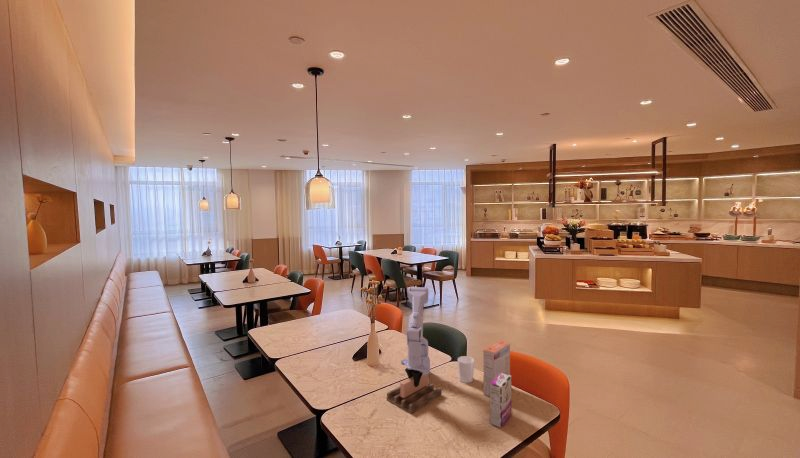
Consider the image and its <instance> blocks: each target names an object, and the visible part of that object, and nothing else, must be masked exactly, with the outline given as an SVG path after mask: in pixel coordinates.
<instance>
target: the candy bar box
mask: <svg viewBox="0 0 800 458" xmlns="http://www.w3.org/2000/svg"><path fill="white" fill-rule="evenodd" d="M511 416H512V375H511V374H510V375H507V374H504V373H500V374H499V375H498V376H497V377H496V378H495V379H494V380H493V381H492V382H491V383H490V397H489V424H490V425H491V426H495V427H497V428H500V429H502V428H503V427H504V426H505V424H506V423H507V421H508V419H509V418H510V417H511Z"/></svg>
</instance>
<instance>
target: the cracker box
mask: <svg viewBox="0 0 800 458" xmlns="http://www.w3.org/2000/svg"><path fill="white" fill-rule="evenodd" d="M482 352H483V356H482V358H483V395H484V396H487V397H489V398H490V383H491V382H492V381H493V380H494V379H495V378H496V377H497V376H498V375H499V374H500V373H504V374H507V375H511V344H510V343H508V342H505V341H502V340H498V341H497V342H495V343H493V344H491V345H490V346H487V347H486V348H483V351H482Z"/></svg>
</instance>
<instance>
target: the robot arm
mask: <svg viewBox="0 0 800 458" xmlns="http://www.w3.org/2000/svg"><path fill="white" fill-rule="evenodd" d="M407 298H408V302H409V303H411V304H412V307H411V308H412V313H411V314H410V315H409V317H408V318H409V319H408V328H407V329H406V335H405V336H406V345H407V359H406V358H404V359H401V360H400V363H401V365H402V366H403V365H404V366H406V368H405V369H404V371H405V373H406V375H407V377H408V378H407V379H409V378H411V377H414V386H415V387H417V386H419V382H420V379H421V376H422V374H423V373H424V375H427V374H428V375H430V374H431V373H432V371H431V359H430V356H429V341H428V339H427V338H425V336H423V335H424V334H423V333H424V306H425V305H426V304H428V302H429V288H428V287H427V286H426V287H424V286H423V287H422V286H421V287H419V286H409V287H408V289H407Z"/></svg>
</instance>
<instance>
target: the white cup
mask: <svg viewBox="0 0 800 458" xmlns="http://www.w3.org/2000/svg"><path fill="white" fill-rule="evenodd" d="M457 370H458V371H457V374H458V381H460V382H462V383H463V384H464V383H465V384H471V383H472V382H474V371H475V359H474V358H473V357H471V356H467V355H466V356H465V355H463V356H462V355H461V356H458V357H457Z"/></svg>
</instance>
